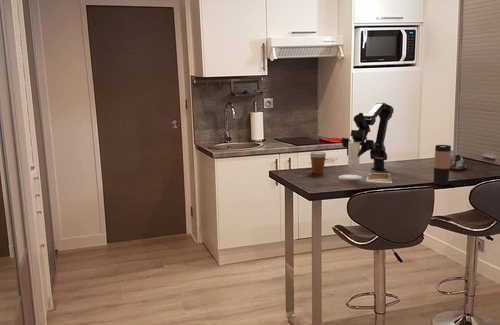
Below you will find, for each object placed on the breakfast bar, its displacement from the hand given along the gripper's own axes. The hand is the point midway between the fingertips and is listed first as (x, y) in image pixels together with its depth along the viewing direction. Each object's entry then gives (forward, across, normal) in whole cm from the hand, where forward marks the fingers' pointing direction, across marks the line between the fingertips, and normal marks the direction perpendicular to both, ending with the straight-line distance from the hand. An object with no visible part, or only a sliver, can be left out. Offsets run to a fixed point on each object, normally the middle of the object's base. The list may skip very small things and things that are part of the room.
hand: (352, 155), depth 257 cm
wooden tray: (+7, +14, +12) cm, 20 cm away
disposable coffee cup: (+6, -25, +14) cm, 29 cm away
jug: (+5, 0, +5) cm, 7 cm away
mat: (+8, -2, +10) cm, 14 cm away
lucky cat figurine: (-35, +35, +55) cm, 74 cm away
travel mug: (-3, +42, +23) cm, 48 cm away
